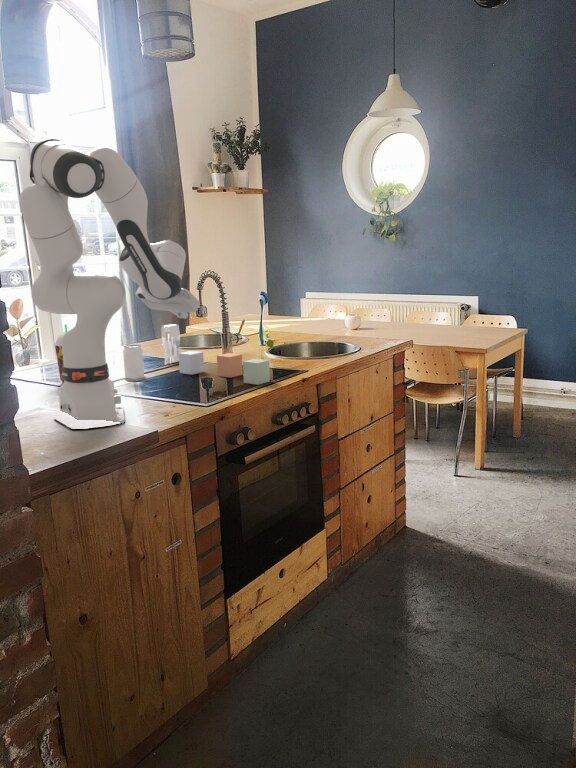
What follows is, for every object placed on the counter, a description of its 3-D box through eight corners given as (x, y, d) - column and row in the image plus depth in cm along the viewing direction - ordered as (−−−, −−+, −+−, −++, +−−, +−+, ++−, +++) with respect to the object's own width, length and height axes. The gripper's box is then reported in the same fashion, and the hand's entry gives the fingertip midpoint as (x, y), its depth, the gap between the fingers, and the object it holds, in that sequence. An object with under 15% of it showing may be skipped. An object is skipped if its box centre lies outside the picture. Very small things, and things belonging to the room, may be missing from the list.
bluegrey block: (191, 374, 229) (190, 354, 227) (179, 372, 232) (178, 353, 231) (204, 371, 233) (203, 352, 232) (192, 370, 237) (191, 350, 235)
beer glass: (173, 366, 252) (170, 326, 249) (159, 364, 256) (157, 326, 252) (185, 363, 258) (183, 324, 254) (171, 361, 261) (169, 323, 258)
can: (139, 382, 224) (137, 347, 222) (122, 382, 225) (119, 347, 223) (147, 378, 230) (145, 344, 228) (130, 378, 232) (127, 344, 229)
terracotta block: (230, 377, 222) (229, 357, 221) (217, 375, 226) (216, 355, 224) (242, 374, 227) (241, 354, 225) (229, 372, 230) (228, 352, 229)
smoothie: (62, 386, 221) (56, 326, 217) (55, 382, 228) (49, 324, 223) (87, 383, 225) (81, 324, 221) (79, 379, 232) (74, 322, 228)
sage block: (257, 384, 210) (257, 363, 209) (243, 382, 214) (242, 361, 213) (269, 381, 215) (269, 360, 214) (255, 379, 219) (255, 358, 217)
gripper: (188, 280, 193) (213, 310, 203) (141, 279, 205) (166, 307, 215) (178, 296, 191) (203, 326, 200) (131, 294, 203) (157, 322, 212)
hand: (184, 316), depth 208 cm, fingers closed
